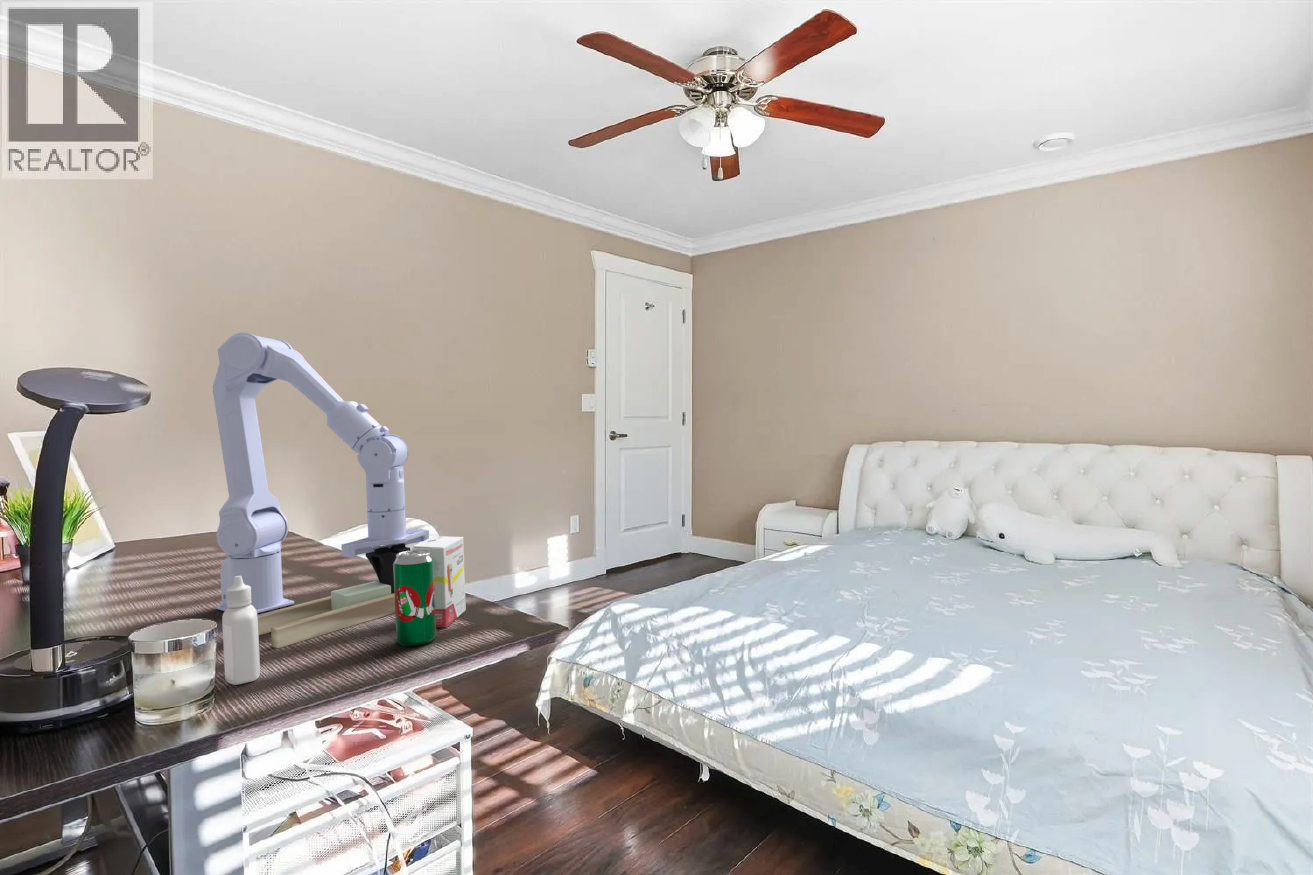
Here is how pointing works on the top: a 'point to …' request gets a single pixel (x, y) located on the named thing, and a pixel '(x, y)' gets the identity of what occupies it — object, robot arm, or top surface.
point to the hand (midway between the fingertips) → (389, 592)
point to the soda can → (414, 598)
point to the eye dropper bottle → (240, 635)
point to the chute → (319, 619)
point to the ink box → (447, 576)
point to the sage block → (358, 594)
